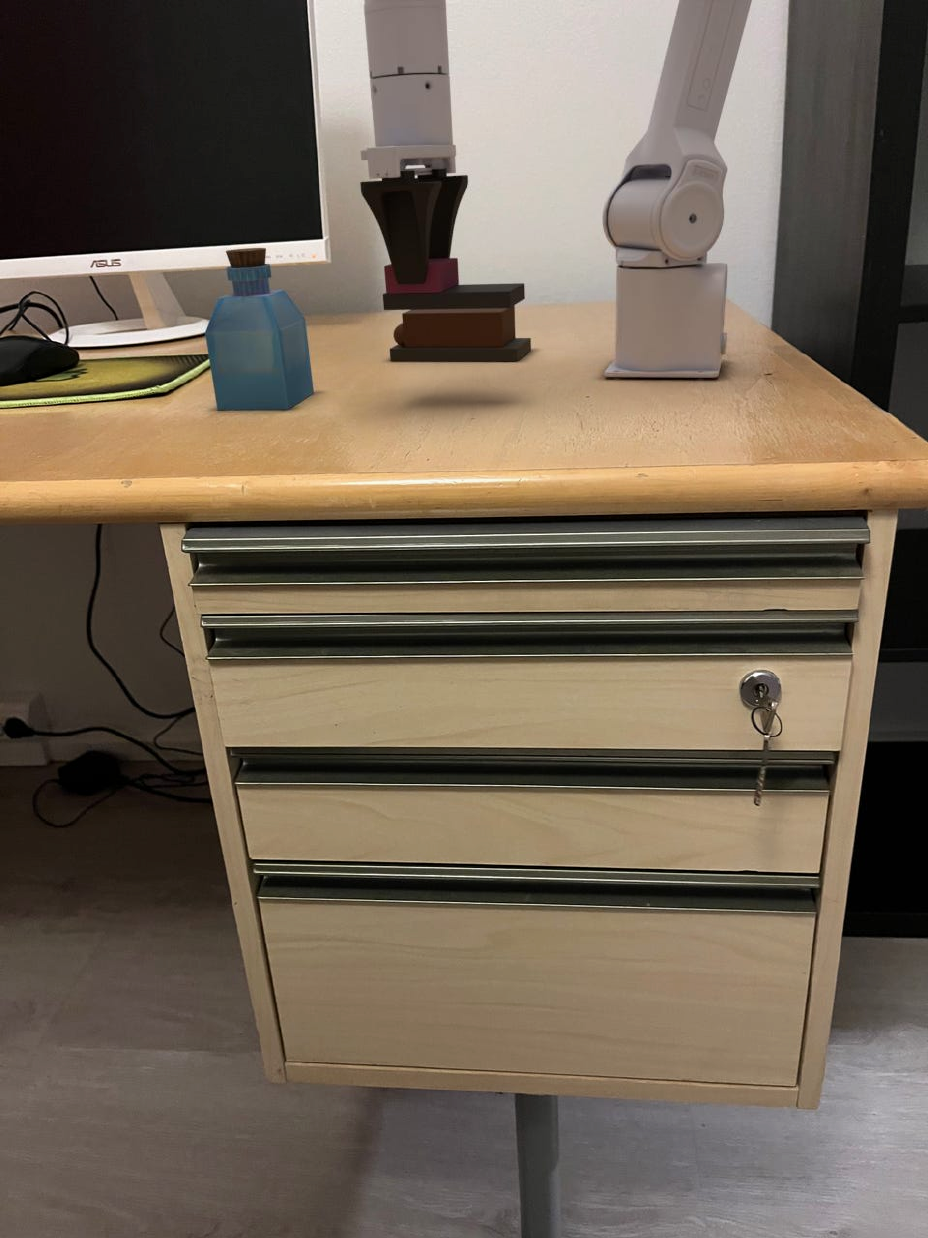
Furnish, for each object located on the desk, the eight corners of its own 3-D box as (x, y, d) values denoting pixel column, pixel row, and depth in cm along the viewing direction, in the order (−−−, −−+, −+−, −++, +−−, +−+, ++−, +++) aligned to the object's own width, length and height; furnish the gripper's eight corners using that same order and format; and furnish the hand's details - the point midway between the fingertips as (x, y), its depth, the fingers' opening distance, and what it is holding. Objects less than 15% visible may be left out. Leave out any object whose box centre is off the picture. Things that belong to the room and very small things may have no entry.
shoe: (531, 349, 97) (530, 303, 95) (517, 361, 91) (516, 312, 89) (410, 350, 100) (406, 305, 98) (390, 361, 95) (386, 313, 93)
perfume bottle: (288, 409, 77) (267, 251, 72) (217, 409, 78) (192, 254, 73) (314, 392, 83) (296, 244, 78) (247, 393, 84) (226, 247, 79)
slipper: (525, 299, 75) (523, 255, 73) (510, 308, 70) (509, 262, 69) (404, 301, 77) (401, 259, 76) (383, 310, 73) (379, 265, 72)
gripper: (391, 88, 75) (404, 270, 81) (317, 75, 63) (339, 292, 69) (477, 81, 74) (484, 267, 79) (418, 66, 61) (432, 290, 67)
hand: (423, 279), depth 74 cm, fingers closed on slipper, 5 cm apart
